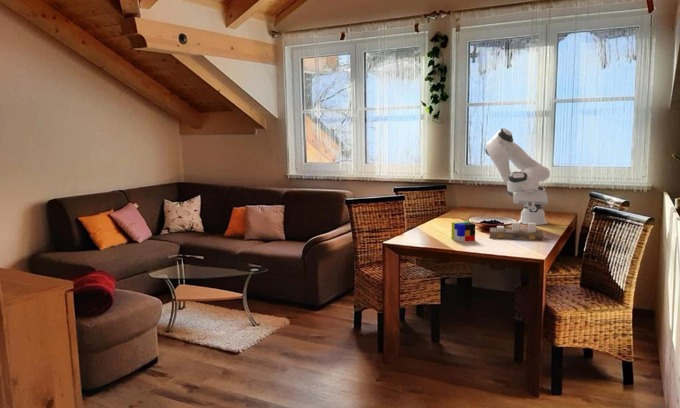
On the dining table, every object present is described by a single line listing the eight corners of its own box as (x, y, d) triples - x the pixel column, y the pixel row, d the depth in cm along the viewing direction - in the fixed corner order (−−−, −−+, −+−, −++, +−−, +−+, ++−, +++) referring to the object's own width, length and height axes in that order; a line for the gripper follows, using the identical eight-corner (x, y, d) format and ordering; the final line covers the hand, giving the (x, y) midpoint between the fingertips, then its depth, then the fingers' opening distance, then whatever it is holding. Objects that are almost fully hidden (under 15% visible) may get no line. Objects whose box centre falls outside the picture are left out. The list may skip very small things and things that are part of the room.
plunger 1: (496, 235, 315) (497, 225, 314) (503, 235, 314) (503, 226, 313) (496, 236, 312) (496, 227, 311) (503, 237, 310) (503, 227, 310)
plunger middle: (512, 231, 312) (512, 221, 311) (519, 231, 311) (519, 222, 310) (512, 232, 308) (512, 223, 308) (519, 233, 307) (519, 223, 306)
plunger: (528, 232, 310) (528, 222, 309) (535, 232, 308) (535, 222, 307) (528, 233, 306) (528, 223, 305) (535, 233, 305) (535, 223, 304)
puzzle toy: (459, 242, 300) (460, 225, 298) (451, 238, 309) (451, 222, 308) (474, 240, 303) (475, 224, 301) (466, 237, 312) (466, 221, 311)
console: (490, 233, 320) (490, 227, 320) (541, 236, 311) (541, 229, 311) (489, 238, 309) (489, 231, 308) (543, 240, 300) (543, 234, 299)
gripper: (512, 187, 323) (512, 205, 316) (547, 188, 317) (548, 206, 309) (512, 193, 328) (512, 211, 321) (547, 194, 322) (547, 212, 314)
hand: (530, 208), depth 315 cm, fingers closed
